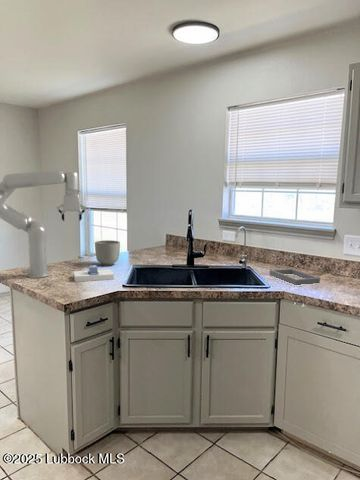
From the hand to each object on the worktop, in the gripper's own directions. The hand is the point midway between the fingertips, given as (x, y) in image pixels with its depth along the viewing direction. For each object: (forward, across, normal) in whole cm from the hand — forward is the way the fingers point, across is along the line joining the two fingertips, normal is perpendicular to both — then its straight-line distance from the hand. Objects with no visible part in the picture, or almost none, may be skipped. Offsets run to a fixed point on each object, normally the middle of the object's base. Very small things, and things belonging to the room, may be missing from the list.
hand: (71, 220), depth 222 cm
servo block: (+33, -11, +13) cm, 37 cm away
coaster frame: (+33, -128, +49) cm, 141 cm away
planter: (+33, -25, -21) cm, 47 cm away
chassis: (+33, -11, +13) cm, 37 cm away
